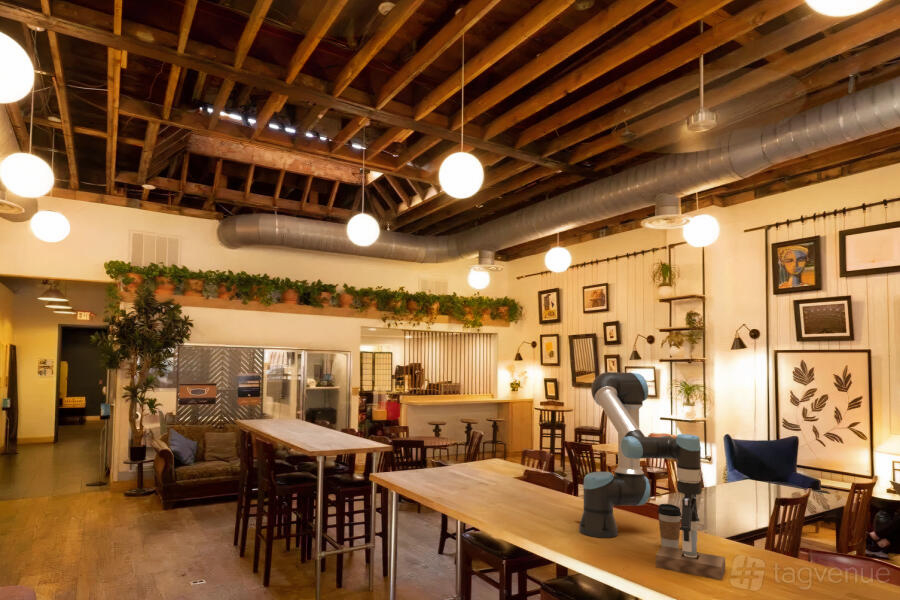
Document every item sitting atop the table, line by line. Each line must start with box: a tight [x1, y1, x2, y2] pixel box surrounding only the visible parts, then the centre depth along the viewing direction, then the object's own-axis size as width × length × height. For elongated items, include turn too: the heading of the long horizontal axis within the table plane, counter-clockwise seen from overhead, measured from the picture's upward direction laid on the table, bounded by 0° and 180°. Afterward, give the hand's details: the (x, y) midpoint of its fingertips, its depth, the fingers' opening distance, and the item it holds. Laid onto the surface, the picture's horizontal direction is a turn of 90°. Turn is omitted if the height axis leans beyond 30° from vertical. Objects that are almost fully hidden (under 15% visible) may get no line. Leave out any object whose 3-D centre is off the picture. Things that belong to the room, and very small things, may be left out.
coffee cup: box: [657, 503, 682, 549], centre depth 212 cm, size 8×8×15 cm
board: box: [655, 545, 726, 581], centre depth 189 cm, size 20×12×4 cm, turn 59°
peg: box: [684, 530, 698, 559], centre depth 190 cm, size 4×4×12 cm
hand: (690, 546), depth 190 cm, fingers open, 13 cm apart
